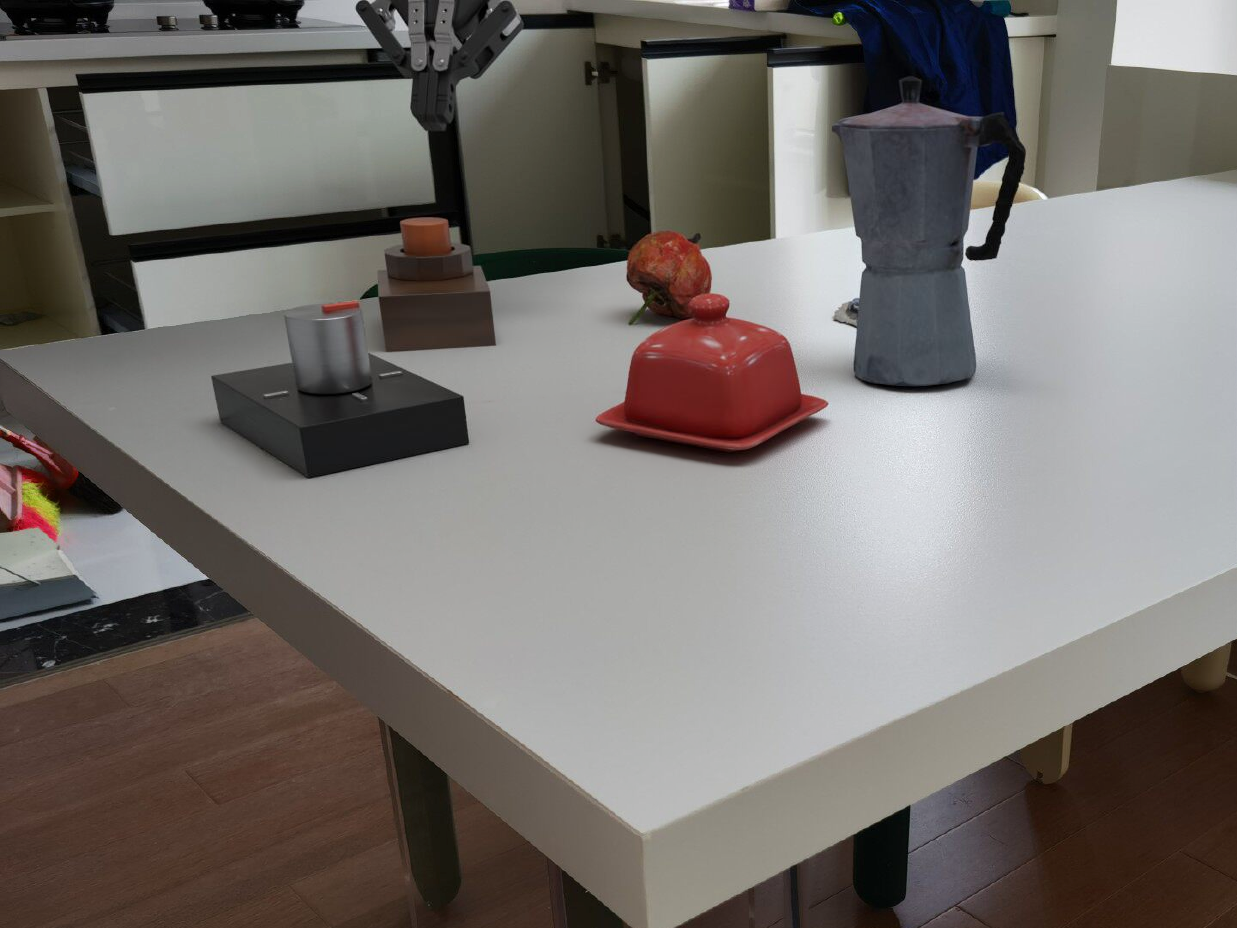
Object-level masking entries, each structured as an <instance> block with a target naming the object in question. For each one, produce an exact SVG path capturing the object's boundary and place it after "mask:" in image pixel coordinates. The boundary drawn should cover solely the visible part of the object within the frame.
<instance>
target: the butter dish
mask: <svg viewBox="0 0 1237 928" xmlns="http://www.w3.org/2000/svg"><path fill="white" fill-rule="evenodd" d="M730 304H731V303H730V299H729V298H727V296H725V295H722V294H719V293H711V292H710V293H708V294H702V295H699V296H696V297H694V298H693V299H692V300H691V301H690V303H689V308H690V309H691V310H692V311H693V312H694V318H687V319H683V320H682V321H677V322H675V323H671V324H670V325H667V326H665V327H662V328H661V329H659V330H657V331H655V332H653V333H652V334H651V335H649V336H647V337H646V338H644V340H643V341H641V342H640V344H639V345H637V347H636V348H635V349H634V351H633V353H632V356H631V360H630V364H629V368H628V376H627V382H626V391H625V397H624V401H623V402H621V403H619V404H617V405H615V406H612V407H611V408H609V409H607V410H605V411H603V412H602V413H600V414H599V415H597V416H596V417H595V423H597V424H599V425H601V426H604V427H608V428H609V429H610V428H611V429H614V430H618V431H619V430H620V431H625V432H630V433H634V434H636V435H637V436H641V437H644V438H651V439H656V440H661V441H665V442H666V441H667V442H672V443H678V444H682V445H689V446H694V447H698V448H699V447H700V448H704V449H710V450H714V451H720V452H726V453H734V452H737V451H745V450H748V449H749V450H750V449H752V448H755V447H757V446H758V445H761V444H762V443H764V442H765V441H767V440H769V439H770V438H772V437H774V436H777V435H778V434H779V433H781V432H783V431H784V430H786V429H789V428H790V427H792V426H794V425H796V424H797V423H799V422H801V421H804V420H805V419H807V418H809V417H811V416H814V415H815V414H817V413H819V412H821V411H822V410H824V409H825V408H827V407H828V405H829V402H828V401H827V400H826V399H823V398H820V397H817V396H813V395H809V394H805V393H802V390H801V384H800V379H799V374H798V369H797V366H796V361H795V357H794V353H793V350H792V347H791V344H790V342H789V340H788V338H786V336H785V335H783V334H782V333H780V332H779V331H776V330H775V329H774V328H773V329H772V328H770V327H768V326H764V325H762V324H759V323H755V322H753V321H749V320H745V319H741V318H734V317H728V316H727V313H728V311H729V308H730V306H731V305H730Z"/></svg>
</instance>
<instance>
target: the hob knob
mask: <svg viewBox="0 0 1237 928" xmlns="http://www.w3.org/2000/svg"><path fill="white" fill-rule="evenodd" d="M360 306H361V305H360V302H359V301H356V300H351V301H343V302H336V303H335V302H334V303H329V302H328V303H314V304H307V305H306V304H305V305H301V306H297V307H293V308H290V309H288V310H286V311H284V313H283V319H284V325H285V331H286V336H287V341H288V346H289V347H288V348H289V353H290V359H291V363H292V365H293V371H294V376H295V382H296V387H297V389H298V390H300V391H302V392H306V393H311V394H339V393H347V392H352V391H357V390H360V389H363V388H365V387H368V386H369V385H371V383H372V376H371V369H370V363H369V356H368V353H369V350H368V343H367V336H366V330H365V329H366V328H365V324H364V323H365V322H364V316H363V311H362V308H361V307H360Z"/></svg>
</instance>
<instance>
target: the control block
mask: <svg viewBox="0 0 1237 928" xmlns="http://www.w3.org/2000/svg"><path fill="white" fill-rule="evenodd" d="M451 250H452V251H451V252H447V253H440V254H424V255H418V254H406V253H404V249H403V244H397V245H393V246H390V247H387V248H384V249H383V252H384V261H385V268H386V269H378V270H377V291H378V292H377V295H378V303H379V304H378V305H379V311H380V317H381V325H382V331H383V339H384V346H385V352H386V353H397V352H415V351H428V350H429V351H431V350H446V349H463V348H479V347H480V348H481V347H494V346H495V347H496V346H497V342H496V332H495V324H494V323H495V322H494V315H493V305H492V295H491V290H490V287H489V284H488V281H487V279H486V276H485V273H484V270H483V268H482V265H473V264H474V263H473V255H472V249H471V246H470V245H468V244H463V243H459V242H451Z"/></svg>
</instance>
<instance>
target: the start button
mask: <svg viewBox="0 0 1237 928" xmlns="http://www.w3.org/2000/svg"><path fill="white" fill-rule="evenodd" d="M399 226H400V233H401V241H402V245H403V249H404V253H406V254H418V255H424V254H440V253H447V252H451V251H452V250H451V243H452V242H451V241H452V240H451V234H450V233H451V232H450V225H449V220H448V219H447V218H443V217H432V216H430V217H411V218H406V219H403V220H400V222H399Z"/></svg>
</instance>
